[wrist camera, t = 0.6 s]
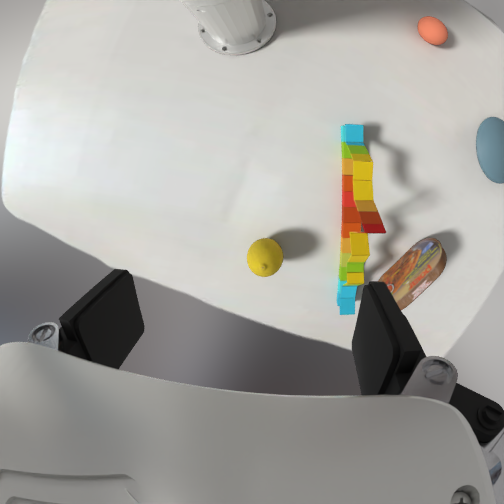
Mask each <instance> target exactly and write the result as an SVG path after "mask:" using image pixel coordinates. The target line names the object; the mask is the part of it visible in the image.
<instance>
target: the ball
mask: <svg viewBox="0 0 504 504" xmlns="http://www.w3.org/2000/svg"><path fill="white" fill-rule="evenodd" d="M418 32H419V34H420V35H421V37H422V38H423V39H424V40H425V41H427V42H428V43H430V44H433V45H440V44H443V43H444V42H445V41H446V40H447V37H448V32H447V29H446V27H445V25H444V24H443V23H442V22H441V21H440V20H438V19H437V18H434V17H430V16H427V17H423V18H421V19H420V20H419V22H418Z"/></svg>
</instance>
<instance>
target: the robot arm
mask: <svg viewBox="0 0 504 504" xmlns="http://www.w3.org/2000/svg"><path fill="white" fill-rule="evenodd" d="M180 1H181V2H182V3H183V4H184V5H185V7H186V8H187V9H188V10H189V11H190V12H191V13H192V14H193V16H194V17H195V18H196V19H197V20H198V21H199V24H198V32H199V35H200V38H201V39H202V41H203V42H204V43H205V44H206V45H207V46H208V47H209V48H210V49H212V50H214V51H215V52H218V53H221V54H226V55H241V54H246V53H250V52H253V51H255V50H257V49H259V48H260V47H262V46H263V45H265V44H266V43H267V42H268V41H269V40H270V38H271V37H272V36H273V34H274V31H275V29H276V16H275V13H274V11H273V9H272V7H271V6H270V5H269V4H268V3H267V2H265V1H264V0H180ZM269 16H272V17H269ZM203 32H204V33H203ZM260 41H261V43H258V42H260ZM225 49H227V50H226V51H225ZM59 320H60V323H61V325H62V327H61V328H60V329H59V327H58V325H56V324H55V323H52V322H47V323H43V324H40V325H39V326H37V327H35V328H34V329H33V330H32V331H31V332H30V334H29V337H28V343H26V342H13V343H12V342H11V343H6V344H3V345H1V346H0V504H504V410H503V409H502V407H501V406H500V405H499V404H498V403H496V402H494V401H492V400H490V399H488V398H486V397H484V396H482V395H480V394H478V393H476V392H474V391H472V390H470V389H468V388H466V387H464V386H462V385H460V384H458V383H456V382H457V377H458V373H457V370H456V368H455V366H454V365H453V364H452V363H451V362H450V361H448V360H446V359H445V358H442V357H439V356H429V357H426V355H425V353H424V351H423V349H422V347H421V345H420V343H419V341H418V339H417V337H416V335H415V333H414V331H413V329H412V328H411V326H410V324H409V322H408V320H407V318H406V317H405V315H403V314H402V312H401V310H400V308H399V306H398V304H397V303H396V301H395V299H394V297H393V296H392V294H391V292H390V290H389V289H388V287H387V285H386V283H385V282H374V281H370V282H369V284H368V285H365V286H364V288H363V294H362V299H361V304H360V309H359V313H358V318H357V322H356V327H355V331H354V335H353V339H352V351H353V356H354V360H355V365H356V370H357V374H358V379H359V384H360V389H361V394H362V396H296V395H275V394H261V393H249V392H239V391H230V390H222V389H215V388H208V387H201V386H195V385H188V384H183V383H177V382H172V381H166V380H162V379H157V378H152V377H148V376H143V375H139V374H135V373H131V372H127V371H123V370H119V367H120V366H121V365H122V363H123V361H124V360H125V359H126V357H127V356H128V354H129V353H130V351H131V350H132V348H133V347H134V346H135V344H136V343H137V341H138V340H139V338H140V337H141V336H142V334H143V332H144V323H143V319H142V315H141V311H140V307H139V303H138V299H137V295H136V290H135V286H134V281H133V277H132V275H131V274H130V273H129V272H128V271H127V270H121V269H115V270H113V271H112V272H111V273H110V274H108V275H107V276H106V277H105V278H104V279H102V280H101V281H100V282H99V283H98V284H97V285H95V286H94V287H93V288H92V289H91V290H90V291H89V292H88V293H86V294H85V295H84V296H83V297H82V298H81V299H80V300H79V301H77V302H76V303H75V304H74V305H73V306H72V307H71V308H70V309H69V310H67V311H66V312H65V313H64V314H63V315H62V316H61V317H60V318H59Z"/></svg>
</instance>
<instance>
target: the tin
mask: <svg viewBox="0 0 504 504" xmlns="http://www.w3.org/2000/svg"><path fill="white" fill-rule="evenodd" d="M446 261H447V257H446V253H445V251H444V249H443V248H442V246H441V243H440V242H439V241H438V240H437V239H434V238H427V239H423V240H421V241H419V242H417V243H416V244H415V245H413V246H412V247H411V248H410V249H409V250H408V251H407V252H406V253H405V254H404V255H403V256H402V257H401V258H400V259H399V260H398V261H397V262H396V263H395V264H394V265H393V266H392V267H391V268H390V269H389V270H388V271H386V272H385V273H384V274H383V275H382V276H381V278H380V279H379V281H378V282H385V283H386V285H387V287H388V289H389V290H390V292H391V294H392V296H393V297H394V299H395V301H396V303H397V304H398V306H399V308H400V310H402V309H404V308H406V307H407V306H408V305H409V304H410V303H412V302H413V301H414V300H415V299H416V298H417V297H418V296H419V295H420V294H421V293H422V292H423V291H424V290H426V289H427V288H428V287H429V286H430V285H431V284H432V283H433V282H434V281H435V280H436V279H437V278H438V277H439V276H440V275H441V273H442V272H443V270H444V268H445V265H446Z"/></svg>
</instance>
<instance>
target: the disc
mask: <svg viewBox="0 0 504 504" xmlns="http://www.w3.org/2000/svg"><path fill="white" fill-rule="evenodd" d="M476 150H477V156H478V160H479V163H480V166H481V168H482V170H483V172H484V173H485V175H486V176H487V177H488V178H489V179H490V180H491V181H493V182H495V183H504V121H502V120H501V119H499V118H496V117H489V118H487V119H485V120H484V121H483V122H482V123H481V125H480V127H479V129H478V133H477V139H476Z"/></svg>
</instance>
